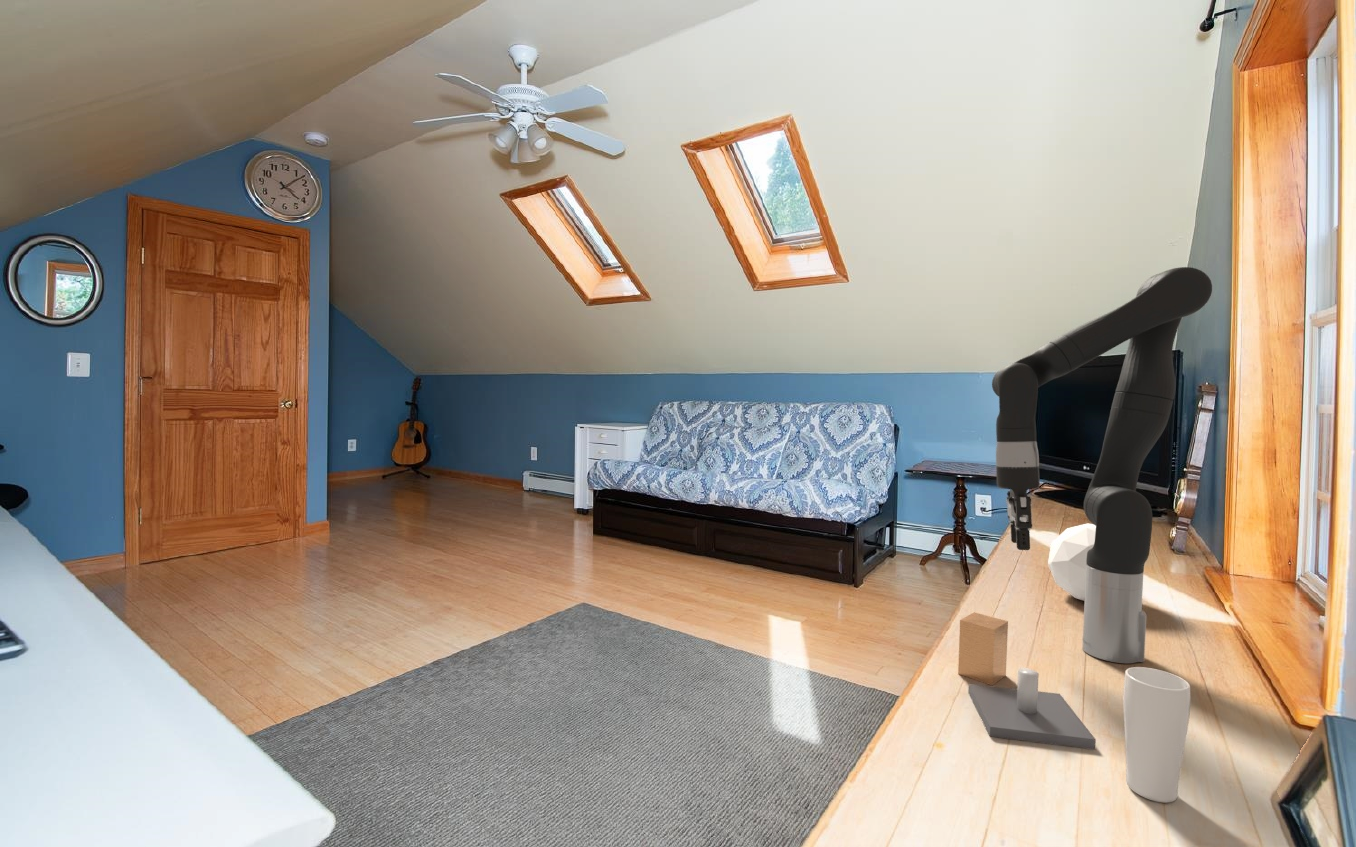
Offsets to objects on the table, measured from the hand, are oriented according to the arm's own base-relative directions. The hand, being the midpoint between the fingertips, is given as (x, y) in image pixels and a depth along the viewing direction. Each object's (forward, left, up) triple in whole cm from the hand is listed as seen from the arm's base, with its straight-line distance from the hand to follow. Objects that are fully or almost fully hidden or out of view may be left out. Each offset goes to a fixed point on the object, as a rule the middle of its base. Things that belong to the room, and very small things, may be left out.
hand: (1020, 546), depth 124 cm
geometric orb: (-27, -37, -21) cm, 51 cm away
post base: (+7, +29, -21) cm, 36 cm away
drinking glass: (-3, +45, -21) cm, 50 cm away
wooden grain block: (+10, +14, -21) cm, 27 cm away
